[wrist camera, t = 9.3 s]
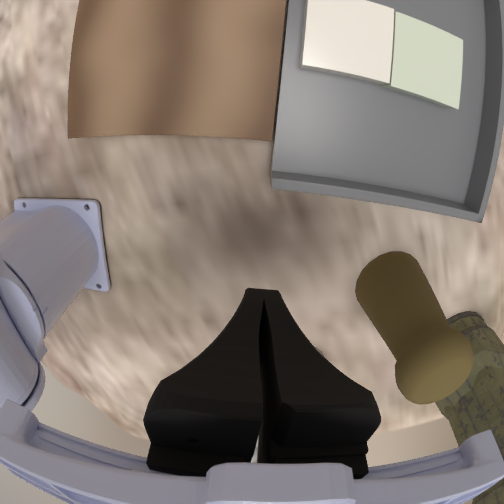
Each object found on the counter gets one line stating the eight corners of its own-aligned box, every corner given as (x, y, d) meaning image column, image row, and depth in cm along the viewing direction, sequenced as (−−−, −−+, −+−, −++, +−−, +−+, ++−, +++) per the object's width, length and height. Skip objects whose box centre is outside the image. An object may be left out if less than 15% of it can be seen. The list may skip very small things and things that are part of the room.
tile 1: (381, 86, 15) (390, 85, 14) (386, 16, 13) (395, 11, 11) (446, 107, 15) (458, 109, 14) (451, 42, 13) (463, 39, 11)
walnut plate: (86, 133, 18) (67, 138, 16) (106, -36, 12) (91, -47, 9) (270, 137, 18) (271, 141, 16) (289, -49, 12) (292, -65, 10)
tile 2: (298, 68, 15) (302, 64, 14) (305, -4, 13) (309, -13, 11) (379, 84, 15) (389, 83, 14) (384, 14, 13) (394, 8, 11)
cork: (367, 246, 22) (429, 352, 12) (430, 255, 22) (503, 346, 12) (346, 311, 24) (381, 422, 15) (406, 314, 24) (454, 411, 15)
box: (269, 174, 19) (271, 188, 16) (293, -71, 11) (298, -95, 8) (457, 205, 20) (481, 223, 16) (477, -7, 11) (502, -15, 8)
